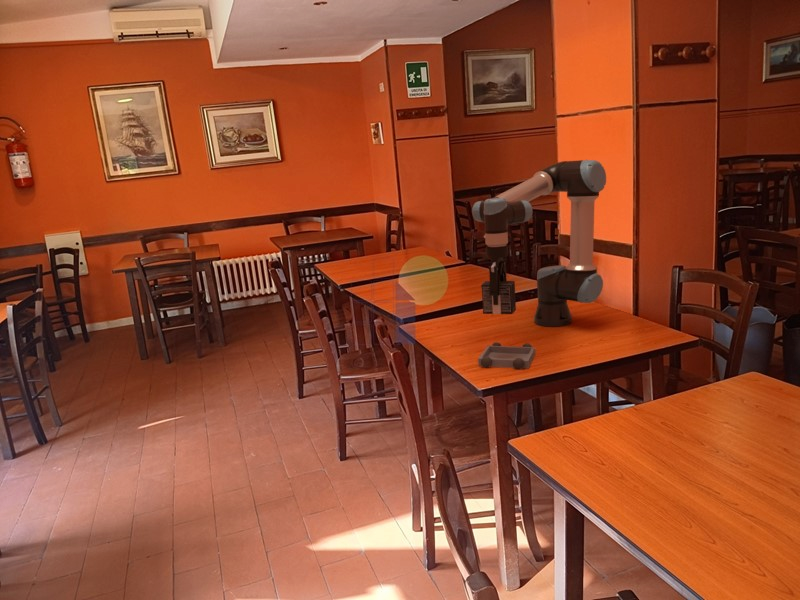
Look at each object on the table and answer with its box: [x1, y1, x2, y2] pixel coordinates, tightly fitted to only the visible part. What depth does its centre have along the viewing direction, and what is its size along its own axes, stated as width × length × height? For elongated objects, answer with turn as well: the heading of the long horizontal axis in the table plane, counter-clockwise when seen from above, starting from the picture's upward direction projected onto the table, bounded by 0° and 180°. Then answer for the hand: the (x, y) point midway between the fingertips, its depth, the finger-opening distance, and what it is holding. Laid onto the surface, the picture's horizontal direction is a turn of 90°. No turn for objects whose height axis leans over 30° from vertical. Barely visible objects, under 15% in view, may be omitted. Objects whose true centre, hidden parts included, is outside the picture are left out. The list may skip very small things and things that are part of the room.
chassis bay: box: [477, 341, 536, 371], centre depth 209 cm, size 17×17×4 cm
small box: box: [480, 280, 517, 315], centre depth 206 cm, size 11×6×10 cm, turn 68°
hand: (499, 310), depth 207 cm, fingers closed on small box, 6 cm apart
